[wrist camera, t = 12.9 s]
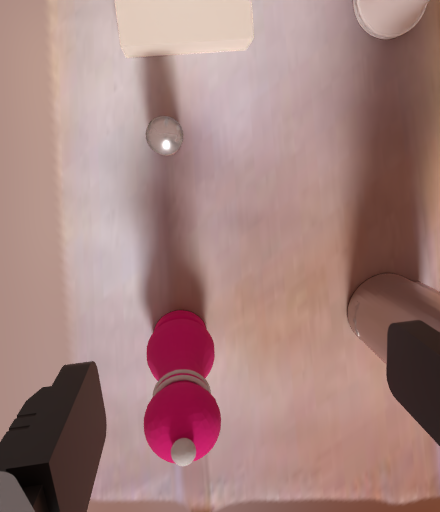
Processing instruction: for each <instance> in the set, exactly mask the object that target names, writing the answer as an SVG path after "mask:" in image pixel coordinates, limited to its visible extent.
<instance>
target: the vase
mask: <svg viewBox="0 0 440 512" xmlns="http://www.w3.org/2000/svg"><path fill="white" fill-rule="evenodd" d="M429 1H430V0H353V8H354V13H355V16H356V19H357V21H358V23H359V24H360V26H361V27H362V28H363V29H364V30H365V31H366V32H367V33H368V34H370V35H371V36H373V37H375V38H379V39H393V38H396V37H399V36H401V35H402V34H404V33H406V32H408V31H409V30H411V29H412V28H413V27H414V26H415V25H416V24H417V23H418V22H419V20H420V19H421V17H422V16H423V14H424V12H425V9H426V6H427V3H428V2H429Z"/></svg>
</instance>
